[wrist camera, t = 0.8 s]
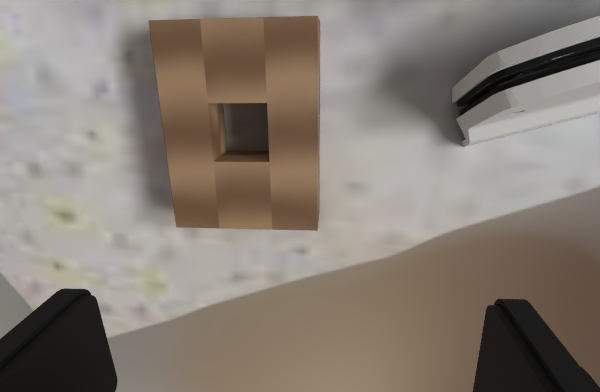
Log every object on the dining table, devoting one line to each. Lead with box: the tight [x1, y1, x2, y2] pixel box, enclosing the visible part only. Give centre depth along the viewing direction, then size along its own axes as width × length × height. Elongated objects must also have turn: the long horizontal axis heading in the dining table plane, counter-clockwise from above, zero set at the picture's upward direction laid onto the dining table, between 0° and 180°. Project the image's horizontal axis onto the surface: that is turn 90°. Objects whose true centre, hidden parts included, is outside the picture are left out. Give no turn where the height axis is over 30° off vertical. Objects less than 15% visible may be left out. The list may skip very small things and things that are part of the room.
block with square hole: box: [149, 16, 320, 231], centre depth 31 cm, size 16×12×4 cm
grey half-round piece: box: [452, 15, 600, 147], centre depth 25 cm, size 17×5×10 cm, turn 106°
